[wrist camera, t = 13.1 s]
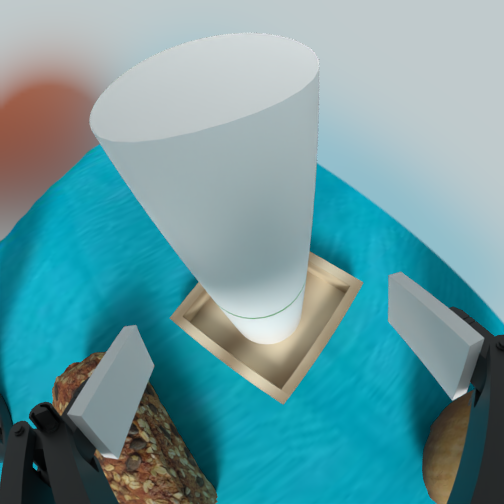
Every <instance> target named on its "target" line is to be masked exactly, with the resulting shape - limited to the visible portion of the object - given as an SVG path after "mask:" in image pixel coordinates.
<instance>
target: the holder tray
mask: <svg viewBox="0 0 504 504" xmlns="http://www.w3.org/2000/svg"><path fill="white" fill-rule="evenodd" d="M362 284H363V282H362V281H360V280H358V279H356V278H355V277H353V276H351V275H350V274H348V273H346V272H345V271H343V270H341V269H339V268H338V267H336V266H334V265H333V264H331V263H329V262H327V261H326V260H324V259H322V258H320V257H319V256H317V255H315V254H313V253H312V252H310V251H309V259H308V268H307V277H306V284H305V292H304V300H303V307H302V314H301V319H300V322H299V325H298V327H297V328H296V330H295V331H294V332H293V333H292V334H291V335H290V336H289V337H288V338H286V339H285V340H283V341H281V342H279V343H275V344H267V345H265V344H258V343H255V342H252V341H250V340H249V339H247V338H246V337H245V336H244V335H243V334H241V332H240V331H239V330H238V329H237V328H236V327H235V325H234V324H233V323H232V322H231V321H230V319H229V318H228V317H227V316H226V315H225V313H224V312H223V311H222V310H221V309H220V307H219V306H218V305H217V304H216V303H215V301H214V300H213V299H212V298H211V296H210V295H209V294H208V293H207V291H206V290H205V289H204V288H203V286H202V285H201V284H200V283H199V282H198V284H197V285H196V286H195V287H194V289H193V290H192V291H191V292H190V294H189V295H188V296H187V297H186V298H185V300H184V301H183V302H182V303H181V305H180V306H179V307H178V308H177V310H176V311H175V312H174V313H173V315H172V316H171V317H170V319H171V320H172V321H174V322H175V323H176V324H177V325H178V326H179V327H180V328H182V329H183V330H184V331H185V332H186V333H188V334H189V335H190V336H191V337H192V338H194V339H195V340H196V341H197V342H199V343H200V344H201V345H202V346H203V347H205V348H206V349H207V350H208V351H210V352H211V353H212V354H214V355H215V356H216V357H217V358H219V359H220V360H221V361H223V362H224V363H225V364H227V365H228V366H229V367H231V368H232V369H233V370H235V371H236V372H237V373H239V374H240V375H241V376H243V377H244V378H246V379H247V380H248V381H250V382H251V383H253V384H254V385H255V386H257V387H258V388H260V389H261V390H263V391H264V392H265V393H267V394H268V395H270V396H271V397H273V398H274V399H276V400H277V401H279V402H280V403H282V404H284V403H285V402H286V400H287V399H288V398H289V397H290V395H291V394H292V393H293V391H294V390H295V388H296V387H297V386H298V384H299V383H300V382H301V380H302V379H303V377H304V376H305V375H306V373H307V372H308V370H309V369H310V368H311V366H312V365H313V363H314V362H315V360H316V359H317V357H318V356H319V354H320V353H321V351H322V350H323V348H324V347H325V345H326V344H327V342H328V341H329V339H330V338H331V336H332V335H333V333H334V331H335V330H336V328H337V327H338V325H339V323H340V322H341V320H342V319H343V317H344V315H345V314H346V312H347V310H348V309H349V307H350V305H351V303H352V302H353V300H354V298H355V297H356V295H357V293H358V291H359V290H360V288H361V286H362Z"/></svg>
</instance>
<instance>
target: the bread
mask: <svg viewBox="0 0 504 504" xmlns="http://www.w3.org/2000/svg"><path fill="white" fill-rule="evenodd" d="M105 353H106V352H97V353H93V354H91V355H90V356H89V357H87V358H86V359H84V360H83V361H82V362H77V363H73V364H71V365H69V367H67V368H66V370H65V372H64V373H63V374H61V376H58V377H57V378H56V381H55V383H54V387H53V388H52V393H53V395H52V396H53V402H52V404H53V406H54V408H55V409H56V410H57V412H58V413H59V414H60V416H61V415H62V413H63V412H64V410H65V408H66V407H67V405H68V404H69V402H70V400H71V399H72V398H73V396H74V394H75V393H76V392H77V389H78V388H79V386H80V385H81V383H82V382H83V381H85V380H86V379H87V378H88V377H90V376H91V375H92V373H93V372H94V370H95V369H96V367H97V366H98V364H99V363H100V361H101V359H102V358H103V356H104V355H105ZM94 455H95V456H96V457H97V459H98V460H99V463H100V465H101V467H102V470H103V472H104V474H105V476H106V478H107V480H108V482H109V485H110V487H111V489H112V491H113V493H114V494H115V496H116V498H117V500H118V502H119V504H215V503H217V500H216V498H217V493H216V491H215V489H214V487H213V485H212V484H211V483H210V482H209V481H208V480H207V479H206V477H205V475H204V474H203V473H202V471H201V470H200V468H199V467H198V465H197V463H196V461H195V459H194V458H193V456H192V454H191V453H190V450H189V449H188V448H187V447H186V445H185V443H184V441H183V440H182V437H181V436H180V435H179V433H178V431H177V429H176V427H175V426H174V424H173V422H172V420H171V418H170V417H169V415H168V413H167V411H166V409H165V407H164V406H163V405H162V404H161V403H160V401H159V398H158V395H157V394H156V393H155V391H154V388H153V386H152V385H151V384H150V383H149V380H148V383H147V385H146V388H145V390H144V393H143V395H142V398H141V400H140V403H139V405H138V408H137V411H136V413H135V416H134V418H133V421H132V424H131V426H130V429H129V432H128V434H127V437H126V440H125V442H124V445H123V448H122V451H121V453H120V456H119V459H113V458H106V457H103V456H102V455H101V453H100V452H99V451H98V450H97V449H96V451H95V454H94Z"/></svg>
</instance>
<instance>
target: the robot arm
mask: <svg viewBox="0 0 504 504" xmlns="http://www.w3.org/2000/svg"><path fill="white" fill-rule="evenodd" d="M388 322H389V323H390V324H391V325H392V326H393V327H394V329H395V330H396V331H397V332H398V333H399V334H400V336H401V337H402V338H403V339H404V340H405V342H406V343H407V344H408V345H409V346H410V348H411V349H412V350H413V351H414V353H415V354H416V355H417V356H418V357H419V359H420V360H421V361H422V362H423V364H424V365H425V366H426V367H427V369H428V370H429V371H430V372H431V374H432V375H433V376H434V378H435V379H436V380H437V381H438V383H439V384H440V385H441V387H442V388H443V389H444V390H445V392H446V393H447V394H448V396H449V397H450V398H451V400H452V401H453V400H454V399H456V398H458V397H460V396H462V395H463V394H465V393H466V392H467V390H468V387H469V384H470V382H471V383H472V384H473V386H474V387H475V388H474V391H473V393H472V395H471V398H470V400H469V403H468V405H467V406H470V404H471V410H470V417H469V423H468V429H467V434H466V439H465V444H464V448H463V452H462V456H461V460H460V464H459V468H458V471H457V475H456V478H455V481H454V484H453V487H452V490H451V493H450V496H449V499H448V501H447V504H504V335H497V336H494V335H492V334H491V333H490V332H489V331H488V330H486V329H485V328H484V327H483V326H481V325H480V324H479V323H478V322H475V320H474V319H473V318H471V317H469V315H468V314H466V313H465V312H464V311H463V310H460V309H458V308H455V307H451V308H448V307H447V306H445V305H444V304H443V303H441V302H440V301H439V300H438V299H436V298H435V297H434V296H432V295H431V294H430V293H429V292H427V291H426V290H425V289H423V288H422V287H421V286H419V285H418V284H417V283H415V282H414V281H413V280H411V279H410V278H409V277H407V276H406V275H405V274H403V273H402V272H399V273H395V274H391V275H389V307H388ZM153 368H154V364H153V362H152V360H151V357H150V355H149V353H148V351H147V349H146V347H145V344H144V342H143V340H142V338H141V335H140V333H139V331H138V328H137V326H136V325H132V326H124V327H123V329H122V330H121V332H120V333H119V334H118V336H117V337H116V339H115V340H114V342H113V343H112V345H111V346H110V348H109V349H108V351H107V352H106V353H105V355H104V356H103V358H102V359H101V361H100V363H99V364H98V366H97V367H96V369H95V370H94V372H93V373H92V375H91V376H90V377H88V378H87V379H86V380H85V381H83V382H82V383H81V385H80V386H79V388H78V389H77V392H76V393H75V394H74V396H73V398H72V399H71V400H70V402H69V404H68V405H67V407H66V408H65V410H64V412H63V413H62V415H61V416H60V414H59V413H58V412H57V410H56V409H55V408H54V406H53V405H52V404H51V403H49V402H43V403H40V404H38V405H36V406H35V407H34V408H33V409H32V410H31V412H30V414H29V419H30V420H31V421H32V422H33V423H34V425H35V426H36V427H37V428H38V429H33V428H32V427H31V426H30V425H29V424H28V422H26V421H20V422H17V423H16V424H14V425H13V426H12V422H11V418H10V414H9V411H8V408H7V406H6V403H5V401H4V399H3V397H2V396H1V394H0V463H3V467H2V474H1V482H0V504H119V502H118V500H117V498H116V496H115V494H114V493H113V491H112V489H111V487H110V485H109V482H108V480H107V478H106V476H105V474H104V472H103V470H102V467H101V465H100V463H99V460H98V459H97V457H96V456H95V455H94V454H95V451H96V449H97V450H98V451H99V452H100V453H101V455H102V456H103V457H106V458H113V459H119V456H120V453H121V451H122V448H123V445H124V442H125V440H126V437H127V434H128V432H129V429H130V426H131V424H132V421H133V418H134V416H135V413H136V411H137V408H138V405H139V403H140V400H141V398H142V395H143V393H144V390H145V388H146V385H147V383H148V380H149V378H150V376H151V373H152V371H153ZM471 402H472V403H471ZM33 462H34V463H35V464H36V465H37V466H38V469H37V471H36V470H35V469H34V468H33Z"/></svg>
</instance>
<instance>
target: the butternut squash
mask: <svg viewBox="0 0 504 504" xmlns="http://www.w3.org/2000/svg"><path fill="white" fill-rule="evenodd" d="M473 391H474V390H472V391H470V392H468V393H466V394H464V395H462V396H461V397H459V398H458V399H456V400H455V401H453V402H452V403H450V404H449V405H448V406H447V407H446V408H445V409H444V410H443V411H442V413H441V414H440V415H439V417H438V418H437V419H436V420H435V421H434V422H433V424H432V425H431V428H430V434H429V437H428V439H427V442H426V444H425V447H424V450H423V462H422V472H423V480H424V483H425V486H426V488H427V491H428V494H429V496H430V498H431V499H432V500H433V501H435V502H436V503H437V504H447V501H448V499H449V496H450V493H451V490H452V487H453V484H454V481H455V478H456V475H457V471H458V468H459V464H460V460H461V456H462V452H463V448H464V444H465V439H466V434H467V429H468V423H469V417H470V410H471V404H470V406H467V405H468V403H469V400H470V398H471V395H472V393H473ZM471 403H472V402H471Z"/></svg>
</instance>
